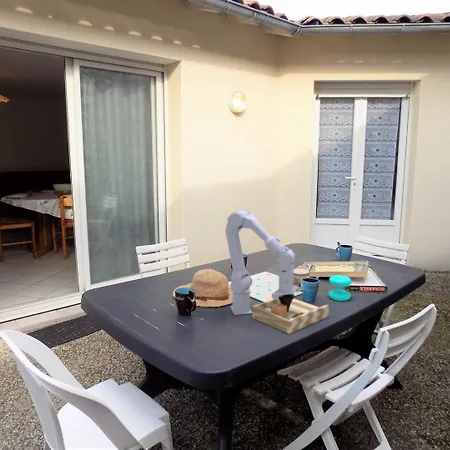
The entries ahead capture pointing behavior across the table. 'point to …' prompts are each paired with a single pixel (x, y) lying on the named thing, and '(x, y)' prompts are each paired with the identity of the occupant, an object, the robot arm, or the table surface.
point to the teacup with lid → (299, 276)
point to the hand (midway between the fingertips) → (285, 311)
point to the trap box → (290, 315)
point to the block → (279, 309)
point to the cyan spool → (339, 293)
